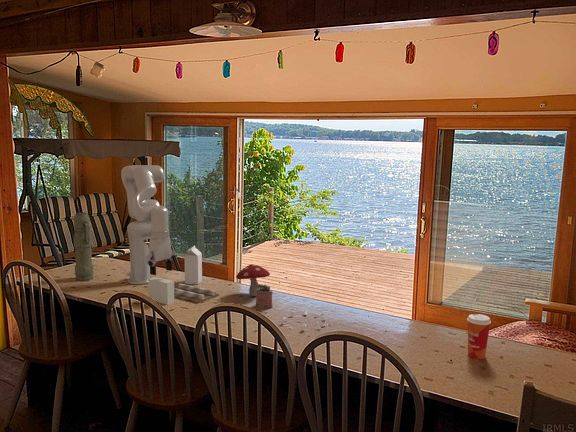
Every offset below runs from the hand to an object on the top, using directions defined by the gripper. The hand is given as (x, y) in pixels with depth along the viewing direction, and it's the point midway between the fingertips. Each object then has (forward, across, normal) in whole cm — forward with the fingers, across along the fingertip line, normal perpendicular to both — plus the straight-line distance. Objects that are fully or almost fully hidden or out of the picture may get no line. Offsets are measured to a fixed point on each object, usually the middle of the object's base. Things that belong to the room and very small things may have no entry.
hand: (161, 272), depth 226 cm
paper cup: (+17, -18, +133) cm, 135 cm away
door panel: (+14, 0, -1) cm, 14 cm away
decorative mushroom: (+14, -31, +28) cm, 44 cm away
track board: (+14, -14, +4) cm, 20 cm away
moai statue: (+12, -4, -62) cm, 63 cm away
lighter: (+14, -20, +42) cm, 49 cm away
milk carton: (+13, -31, -10) cm, 35 cm away
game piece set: (+16, -14, +67) cm, 70 cm away
